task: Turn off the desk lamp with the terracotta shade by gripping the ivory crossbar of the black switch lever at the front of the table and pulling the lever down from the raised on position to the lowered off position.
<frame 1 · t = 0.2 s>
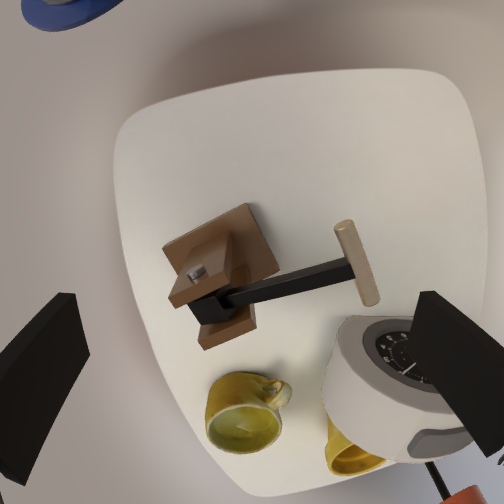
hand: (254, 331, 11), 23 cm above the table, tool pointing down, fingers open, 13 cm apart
flower pot: (346, 411, 42), on the table
lamp: (408, 424, 45), on the table
alarm clock: (386, 339, 38), on the table
mug: (249, 384, 39), on the table
switch lever: (273, 288, 20), point 13 cm above the table, hinge at 25.0°
wooden lever stand: (221, 256, 33), on the table
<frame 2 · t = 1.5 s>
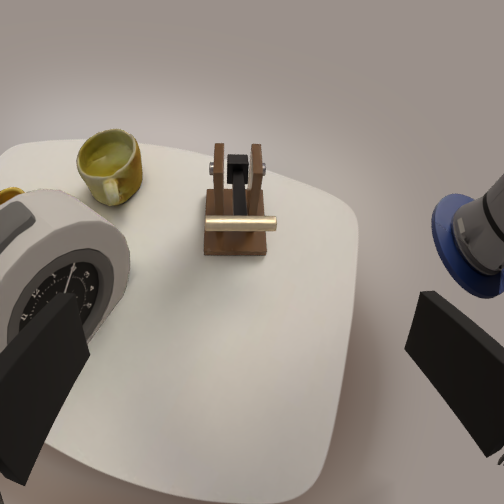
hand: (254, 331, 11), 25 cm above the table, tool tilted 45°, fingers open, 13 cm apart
alarm clock: (76, 316, 35), on the table
mug: (119, 193, 44), on the table
switch lever: (238, 189, 29), point 13 cm above the table, hinge at 25.0°
wooden lever stand: (234, 222, 42), on the table
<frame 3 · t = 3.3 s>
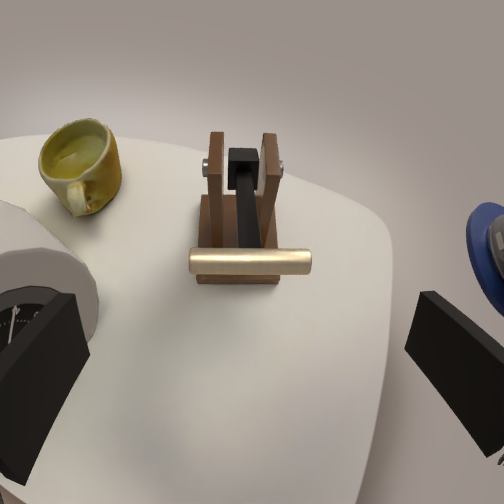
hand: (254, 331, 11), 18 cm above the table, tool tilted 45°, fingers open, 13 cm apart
alarm clock: (40, 356, 25), on the table
mug: (93, 200, 34), on the table
switch lever: (245, 199, 19), point 13 cm above the table, hinge at 25.0°
wooden lever stand: (237, 239, 33), on the table
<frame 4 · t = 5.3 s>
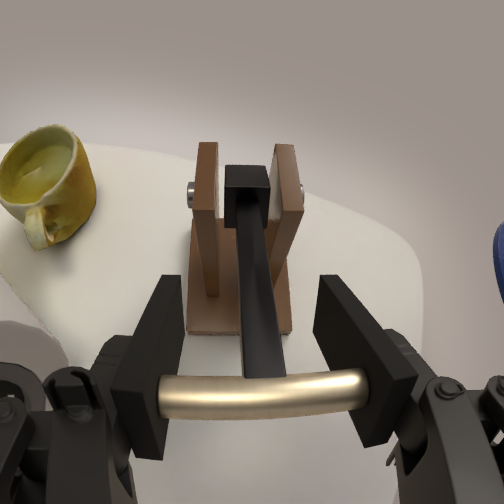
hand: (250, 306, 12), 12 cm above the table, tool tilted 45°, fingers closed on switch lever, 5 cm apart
alarm clock: (12, 411, 18), on the table
mug: (64, 223, 27), on the table
switch lever: (251, 256, 12), point 13 cm above the table, hinge at 25.0°, touching gripper
wooden lever stand: (237, 276, 26), on the table
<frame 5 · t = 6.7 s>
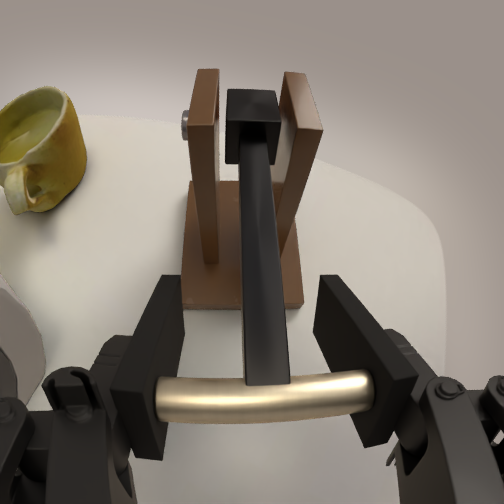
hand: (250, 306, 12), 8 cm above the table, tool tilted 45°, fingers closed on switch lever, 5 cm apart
mug: (51, 192, 24), on the table
switch lever: (256, 213, 10), point 11 cm above the table, hinge at 4.9°, touching gripper
wooden lever stand: (240, 243, 23), on the table
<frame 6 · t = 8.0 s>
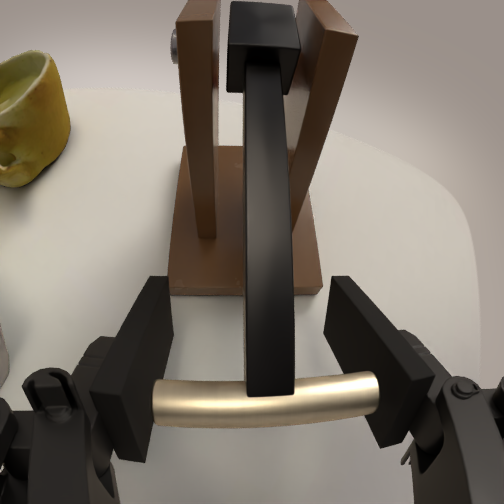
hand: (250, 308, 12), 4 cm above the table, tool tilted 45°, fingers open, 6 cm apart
mug: (30, 166, 20), on the table
switch lever: (264, 170, 8), point 10 cm above the table, hinge at -16.1°
wooden lever stand: (242, 216, 19), on the table
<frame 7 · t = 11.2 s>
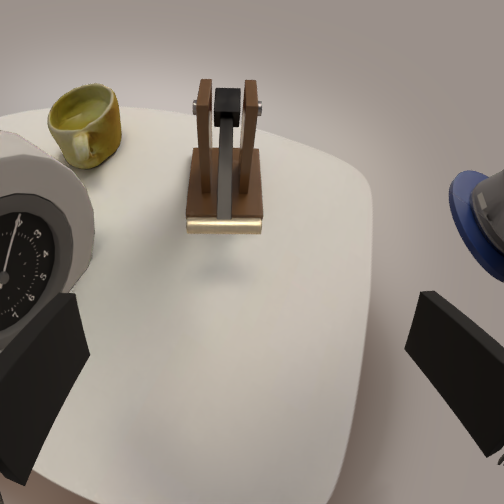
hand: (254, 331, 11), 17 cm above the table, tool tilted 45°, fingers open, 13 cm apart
alarm clock: (34, 294, 27), on the table
mug: (94, 157, 36), on the table
switch lever: (225, 155, 24), point 10 cm above the table, hinge at -16.1°
wooden lever stand: (225, 184, 35), on the table
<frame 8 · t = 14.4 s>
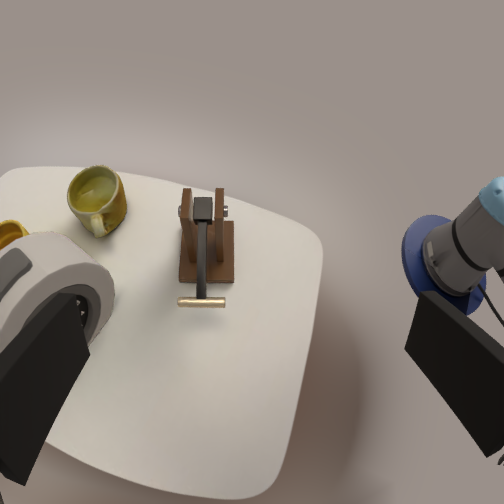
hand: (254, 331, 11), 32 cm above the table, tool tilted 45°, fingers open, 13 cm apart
flower pot: (30, 275, 43), on the table
alarm clock: (71, 334, 39), on the table
mug: (106, 222, 48), on the table
switch lever: (202, 252, 36), point 10 cm above the table, hinge at -16.1°
wooden lever stand: (207, 252, 47), on the table
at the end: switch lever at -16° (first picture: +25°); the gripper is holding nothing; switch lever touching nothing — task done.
